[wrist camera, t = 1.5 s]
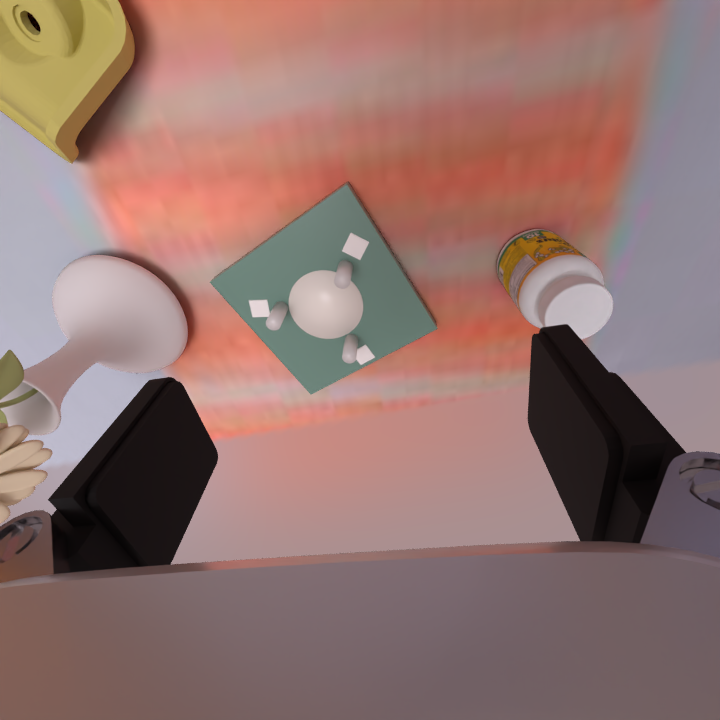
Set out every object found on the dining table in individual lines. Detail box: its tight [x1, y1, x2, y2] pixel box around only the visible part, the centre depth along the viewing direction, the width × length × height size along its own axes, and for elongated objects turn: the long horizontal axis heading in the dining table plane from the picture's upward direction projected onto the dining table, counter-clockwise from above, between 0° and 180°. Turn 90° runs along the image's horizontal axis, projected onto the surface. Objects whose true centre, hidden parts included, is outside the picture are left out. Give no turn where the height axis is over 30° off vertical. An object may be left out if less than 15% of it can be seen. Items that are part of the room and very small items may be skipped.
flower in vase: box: [0, 255, 188, 524], centre depth 26 cm, size 13×11×25 cm
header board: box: [210, 181, 437, 394], centre depth 33 cm, size 14×14×4 cm
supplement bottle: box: [497, 229, 613, 339], centre depth 28 cm, size 5×5×10 cm
